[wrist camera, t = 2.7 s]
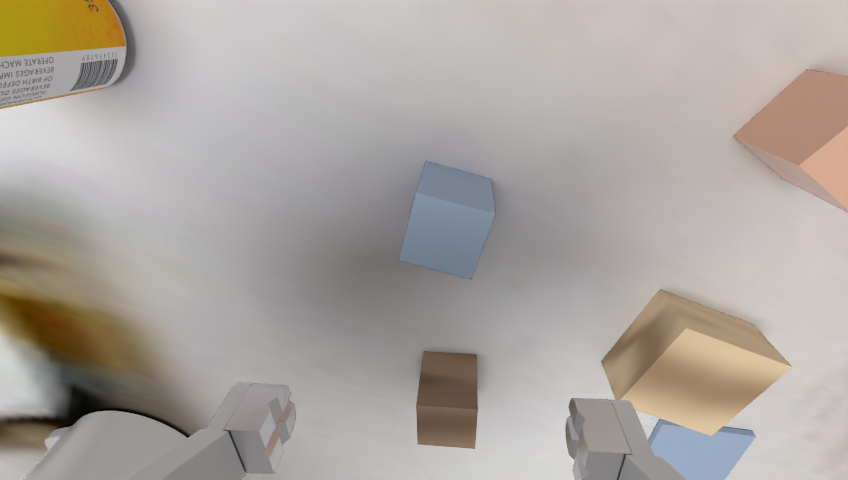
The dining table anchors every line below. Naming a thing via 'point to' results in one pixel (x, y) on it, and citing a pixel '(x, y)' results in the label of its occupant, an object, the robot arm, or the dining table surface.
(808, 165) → the terracotta cube
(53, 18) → the beer can
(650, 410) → the oak base
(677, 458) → the tile
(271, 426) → the robot arm
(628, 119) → the dining table surface
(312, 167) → the dining table surface
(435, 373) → the walnut cube
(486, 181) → the blue cube
